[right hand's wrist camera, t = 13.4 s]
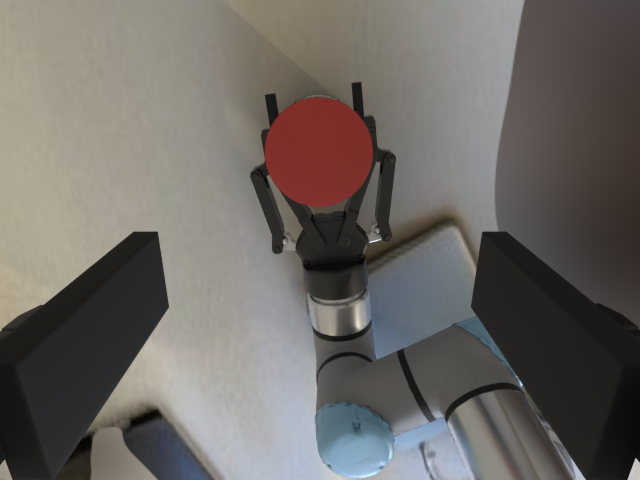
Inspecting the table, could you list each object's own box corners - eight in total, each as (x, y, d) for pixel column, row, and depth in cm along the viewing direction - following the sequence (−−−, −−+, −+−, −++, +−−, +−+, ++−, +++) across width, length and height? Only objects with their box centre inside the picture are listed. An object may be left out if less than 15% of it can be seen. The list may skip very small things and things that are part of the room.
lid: (390, 134, 34) (394, 136, 33) (334, 219, 37) (335, 225, 35) (300, 74, 32) (299, 74, 31) (248, 168, 35) (245, 172, 34)
